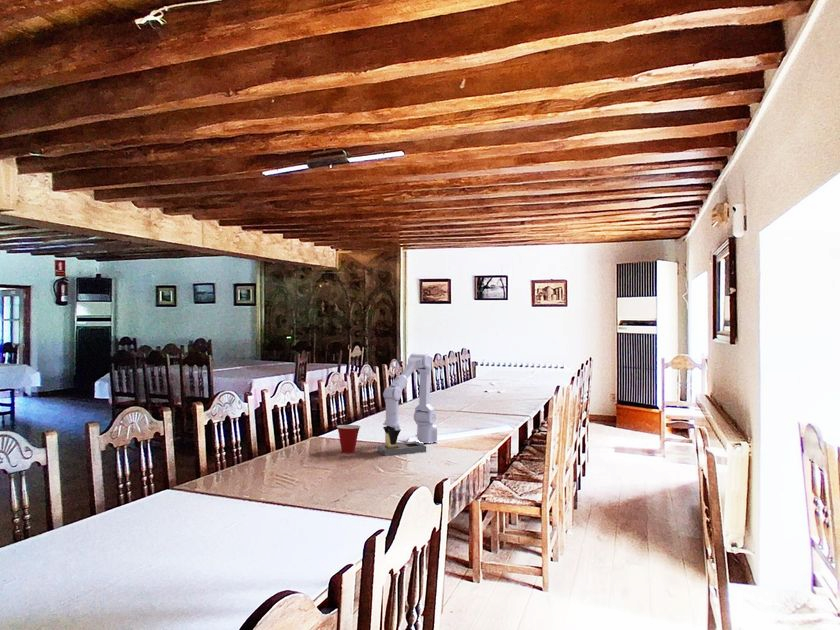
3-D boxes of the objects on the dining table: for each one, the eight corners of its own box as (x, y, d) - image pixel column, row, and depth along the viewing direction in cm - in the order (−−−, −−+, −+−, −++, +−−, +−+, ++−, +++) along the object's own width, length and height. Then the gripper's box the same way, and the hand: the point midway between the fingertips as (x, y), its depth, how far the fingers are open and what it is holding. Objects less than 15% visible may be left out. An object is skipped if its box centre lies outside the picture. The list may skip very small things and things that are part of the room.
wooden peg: (393, 449, 248) (393, 432, 248) (396, 451, 244) (396, 433, 244) (385, 450, 246) (385, 432, 246) (388, 452, 243) (388, 434, 243)
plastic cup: (362, 449, 251) (362, 423, 251) (357, 455, 240) (357, 428, 240) (339, 448, 252) (339, 422, 252) (333, 454, 241) (333, 427, 241)
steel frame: (417, 447, 256) (417, 441, 256) (426, 451, 247) (426, 446, 247) (377, 450, 248) (377, 445, 248) (384, 455, 239) (384, 450, 239)
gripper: (378, 411, 251) (378, 440, 251) (389, 416, 237) (388, 447, 237) (392, 410, 254) (392, 439, 253) (404, 415, 240) (403, 446, 240)
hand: (391, 443), depth 246 cm, fingers closed on wooden peg, 4 cm apart
